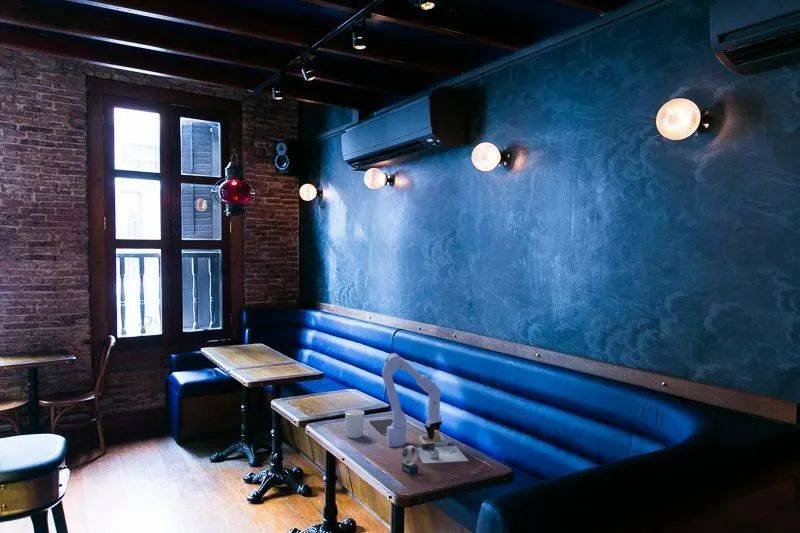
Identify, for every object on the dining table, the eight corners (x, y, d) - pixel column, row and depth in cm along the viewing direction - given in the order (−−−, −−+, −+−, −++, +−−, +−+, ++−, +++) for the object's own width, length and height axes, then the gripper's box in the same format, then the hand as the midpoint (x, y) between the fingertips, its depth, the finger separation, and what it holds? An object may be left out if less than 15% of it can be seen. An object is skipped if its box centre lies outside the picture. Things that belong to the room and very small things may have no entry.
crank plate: (423, 465, 241) (423, 463, 241) (413, 449, 260) (413, 447, 260) (468, 462, 245) (468, 460, 245) (455, 447, 264) (455, 445, 264)
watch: (398, 471, 234) (399, 446, 233) (413, 467, 238) (414, 442, 238) (406, 476, 229) (406, 450, 229) (421, 472, 234) (421, 446, 234)
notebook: (369, 423, 299) (382, 436, 280) (369, 420, 299) (382, 433, 279) (391, 421, 304) (405, 433, 284) (391, 418, 304) (405, 430, 284)
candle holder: (348, 439, 271) (349, 416, 271) (341, 433, 280) (342, 410, 280) (366, 437, 276) (367, 413, 276) (359, 431, 285) (359, 408, 284)
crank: (442, 458, 246) (442, 452, 246) (429, 459, 245) (429, 452, 245) (433, 447, 260) (433, 441, 260) (421, 447, 259) (421, 441, 259)
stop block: (435, 444, 266) (435, 432, 266) (427, 443, 268) (428, 431, 268) (438, 442, 270) (439, 430, 270) (431, 440, 272) (431, 428, 271)
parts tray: (424, 448, 262) (424, 443, 262) (418, 440, 273) (418, 435, 273) (447, 447, 264) (447, 442, 264) (440, 439, 276) (441, 434, 276)
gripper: (435, 415, 260) (434, 443, 261) (447, 407, 273) (446, 434, 273) (421, 412, 264) (421, 440, 264) (434, 405, 276) (433, 432, 277)
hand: (433, 437), depth 269 cm, fingers open, 5 cm apart
